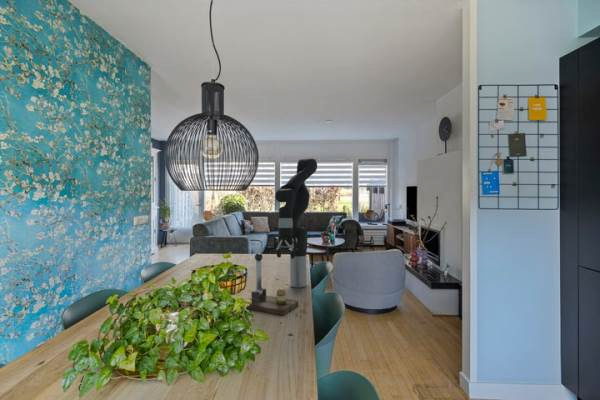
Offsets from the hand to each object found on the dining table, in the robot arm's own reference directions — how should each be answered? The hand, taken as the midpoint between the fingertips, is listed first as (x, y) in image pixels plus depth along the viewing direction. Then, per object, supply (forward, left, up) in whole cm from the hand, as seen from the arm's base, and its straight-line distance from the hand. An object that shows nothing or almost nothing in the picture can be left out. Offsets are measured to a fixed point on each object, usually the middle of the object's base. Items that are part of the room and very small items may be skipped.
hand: (285, 257), depth 163 cm
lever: (+21, -2, -14) cm, 26 cm away
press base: (+21, +4, -18) cm, 28 cm away
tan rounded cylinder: (+21, +10, -16) cm, 29 cm away
